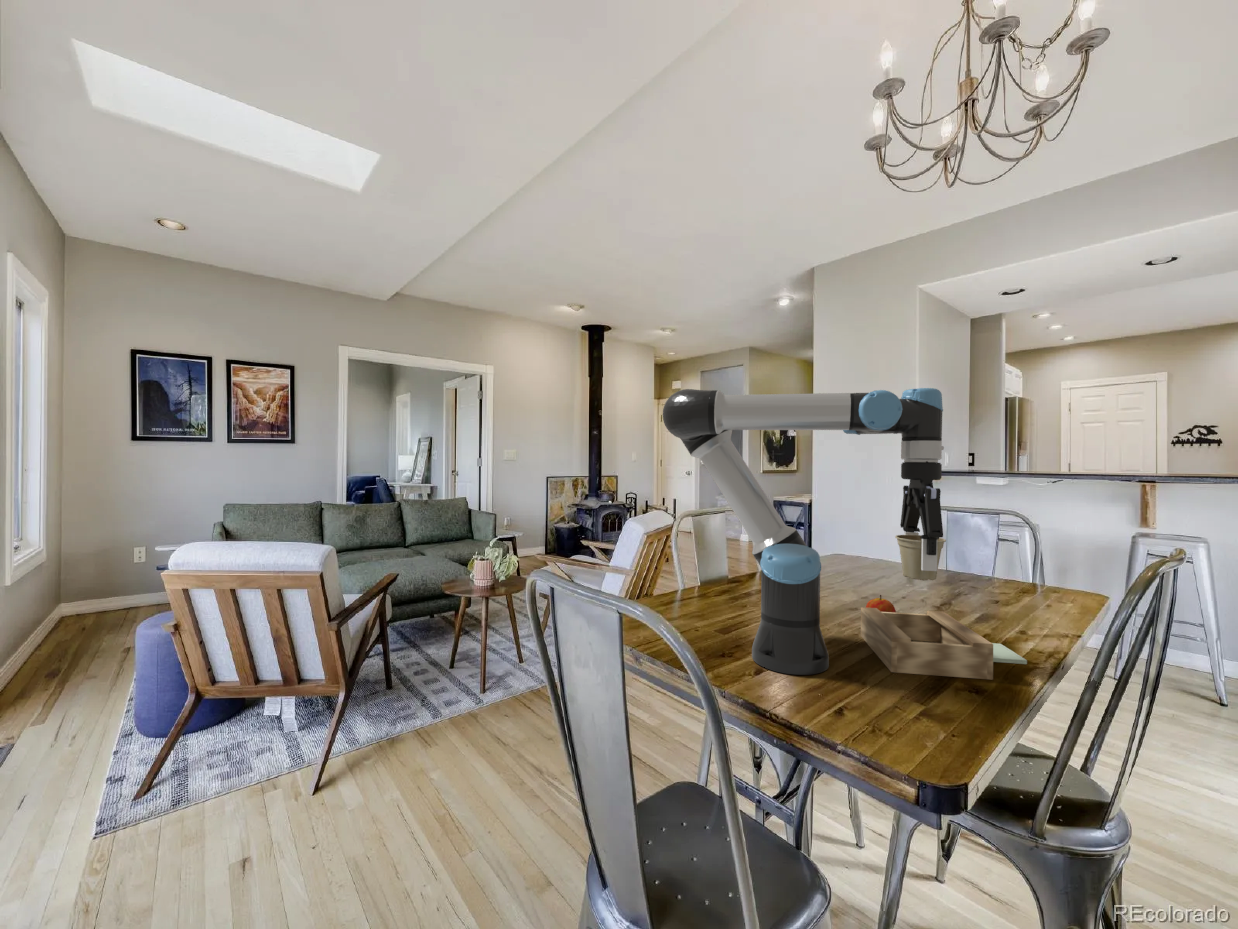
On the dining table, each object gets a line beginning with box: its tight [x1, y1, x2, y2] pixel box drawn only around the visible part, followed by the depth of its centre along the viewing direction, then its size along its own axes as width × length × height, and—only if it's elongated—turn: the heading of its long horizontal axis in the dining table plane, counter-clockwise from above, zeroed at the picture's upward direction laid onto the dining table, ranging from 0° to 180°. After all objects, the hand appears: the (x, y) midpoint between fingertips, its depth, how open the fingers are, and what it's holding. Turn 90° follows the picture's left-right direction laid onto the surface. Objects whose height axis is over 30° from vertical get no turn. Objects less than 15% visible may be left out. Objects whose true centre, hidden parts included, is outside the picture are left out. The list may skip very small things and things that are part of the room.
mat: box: [991, 642, 1028, 665], centre depth 113 cm, size 10×10×1 cm
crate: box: [860, 606, 994, 681], centre depth 112 cm, size 18×22×7 cm
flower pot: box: [894, 534, 947, 581], centre depth 112 cm, size 9×9×9 cm
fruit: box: [865, 594, 897, 613], centre depth 132 cm, size 7×7×8 cm
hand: (919, 565), depth 112 cm, fingers closed on flower pot, 9 cm apart
